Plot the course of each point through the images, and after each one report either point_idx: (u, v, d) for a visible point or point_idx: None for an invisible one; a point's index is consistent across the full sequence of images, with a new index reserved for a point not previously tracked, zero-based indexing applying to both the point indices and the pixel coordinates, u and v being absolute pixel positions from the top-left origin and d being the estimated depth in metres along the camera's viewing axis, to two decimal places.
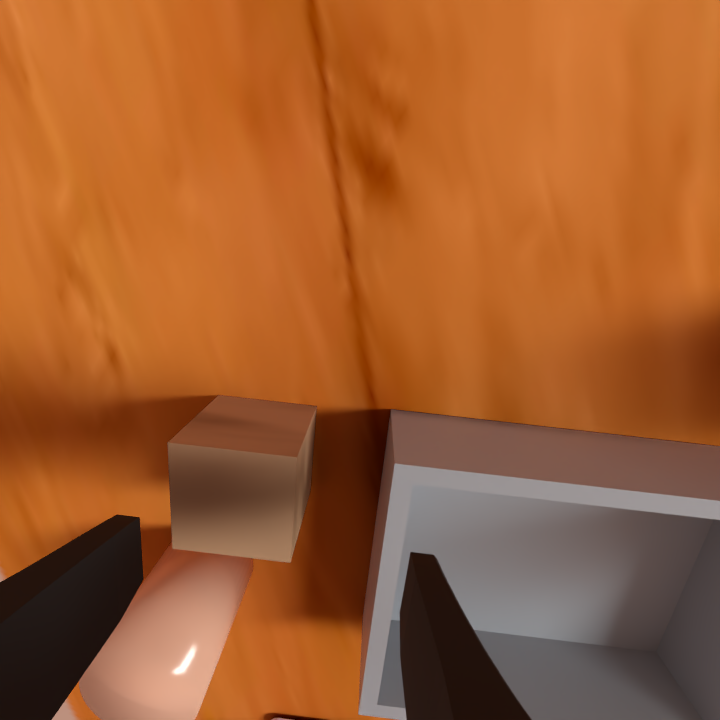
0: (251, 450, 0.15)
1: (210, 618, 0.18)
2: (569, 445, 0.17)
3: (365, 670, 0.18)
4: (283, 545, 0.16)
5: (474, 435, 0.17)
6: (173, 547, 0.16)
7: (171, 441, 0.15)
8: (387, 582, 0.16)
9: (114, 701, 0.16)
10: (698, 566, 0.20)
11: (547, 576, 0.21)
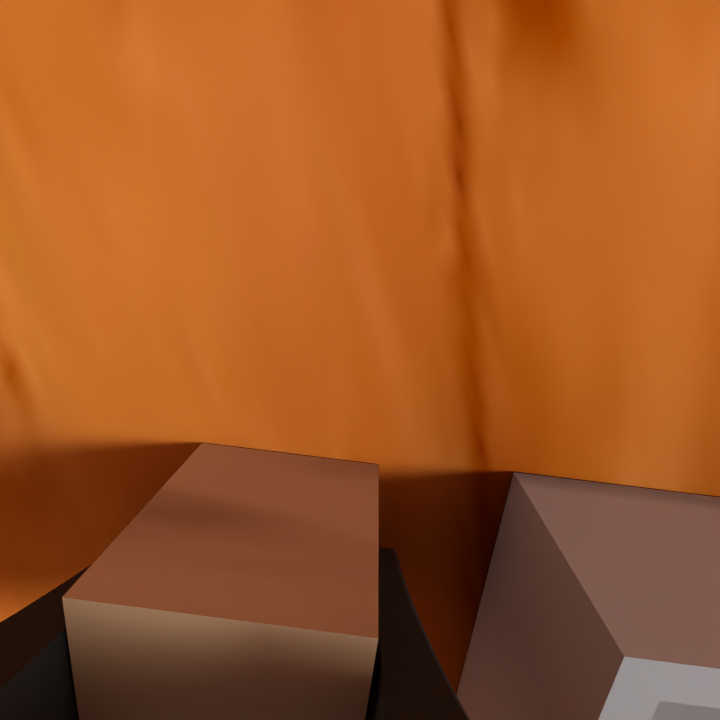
0: (266, 616, 0.06)
1: None
2: None
3: None
4: None
5: (704, 538, 0.09)
6: None
7: (73, 592, 0.06)
8: None
9: None
10: None
11: None
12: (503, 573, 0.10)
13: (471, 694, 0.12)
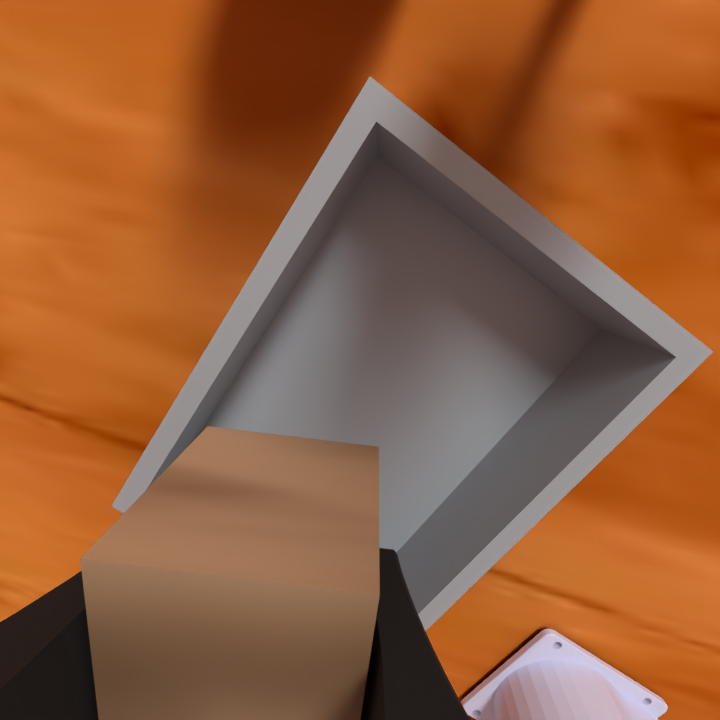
0: (272, 576, 0.06)
1: None
2: None
3: None
4: None
5: None
6: None
7: (90, 554, 0.07)
8: None
9: None
10: (489, 242, 0.16)
11: (420, 399, 0.18)
12: None
13: None
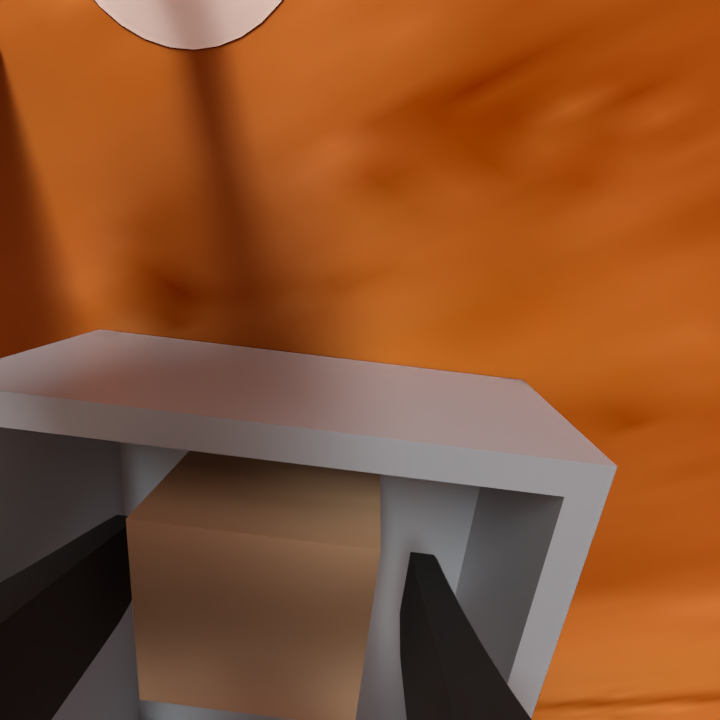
0: (289, 534, 0.08)
1: None
2: None
3: None
4: (343, 699, 0.09)
5: None
6: (141, 697, 0.09)
7: (134, 515, 0.08)
8: None
9: None
10: None
11: None
12: None
13: None
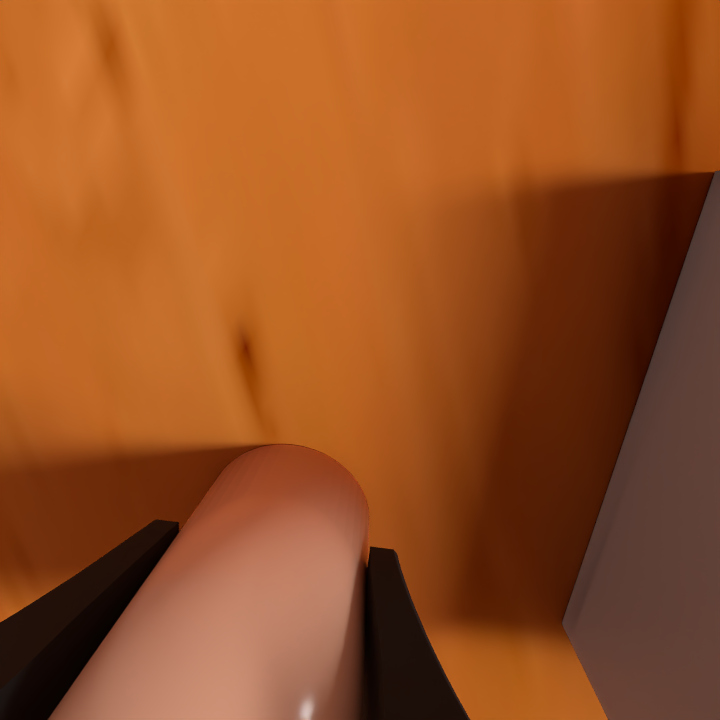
0: None
1: (343, 628, 0.07)
2: None
3: None
4: None
5: None
6: None
7: None
8: None
9: None
10: None
11: None
12: (706, 289, 0.09)
13: (642, 468, 0.10)
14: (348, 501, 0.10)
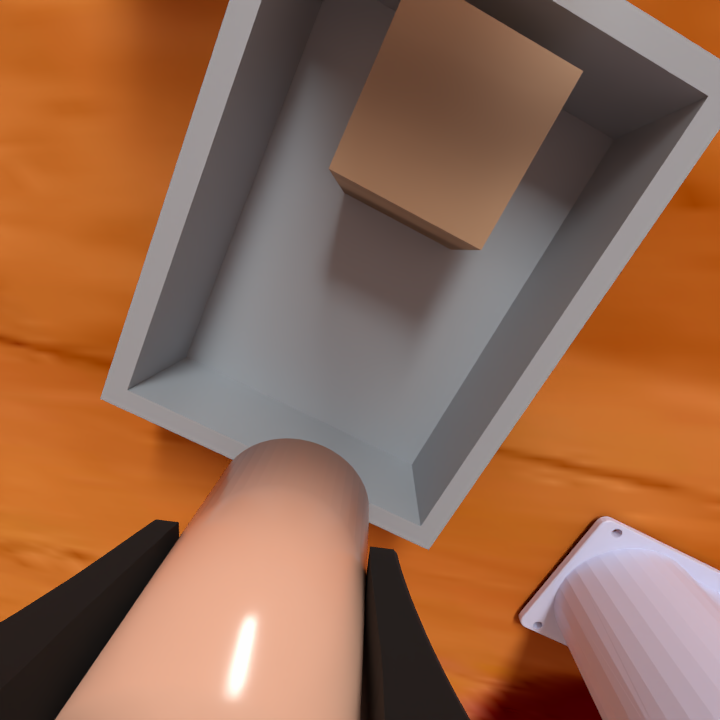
0: (522, 38, 0.10)
1: (347, 609, 0.08)
2: None
3: None
4: (486, 217, 0.11)
5: None
6: (330, 167, 0.11)
7: None
8: None
9: None
10: None
11: (422, 260, 0.16)
12: None
13: None
14: (351, 494, 0.11)
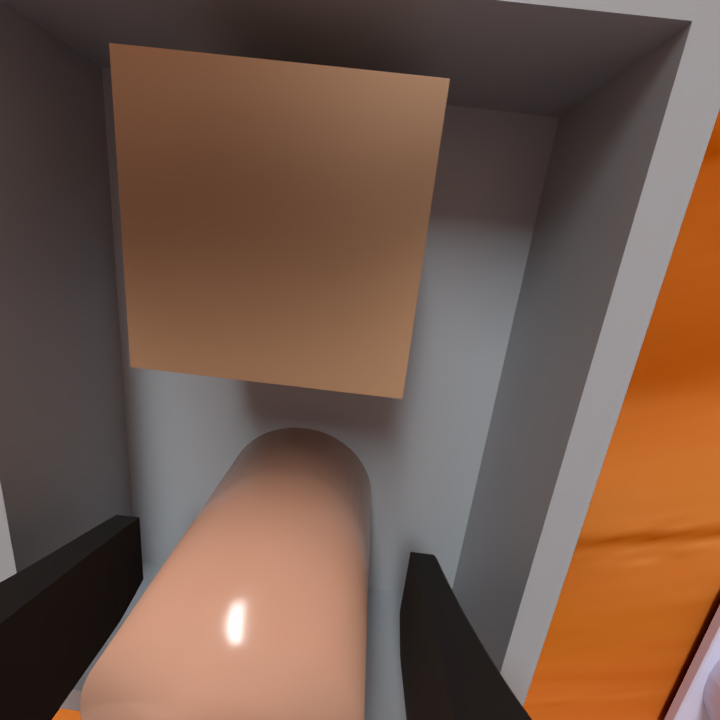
0: (327, 69, 0.06)
1: (352, 573, 0.09)
2: None
3: None
4: (389, 352, 0.07)
5: None
6: (132, 364, 0.07)
7: (120, 47, 0.06)
8: None
9: None
10: None
11: None
12: None
13: None
14: (355, 478, 0.12)
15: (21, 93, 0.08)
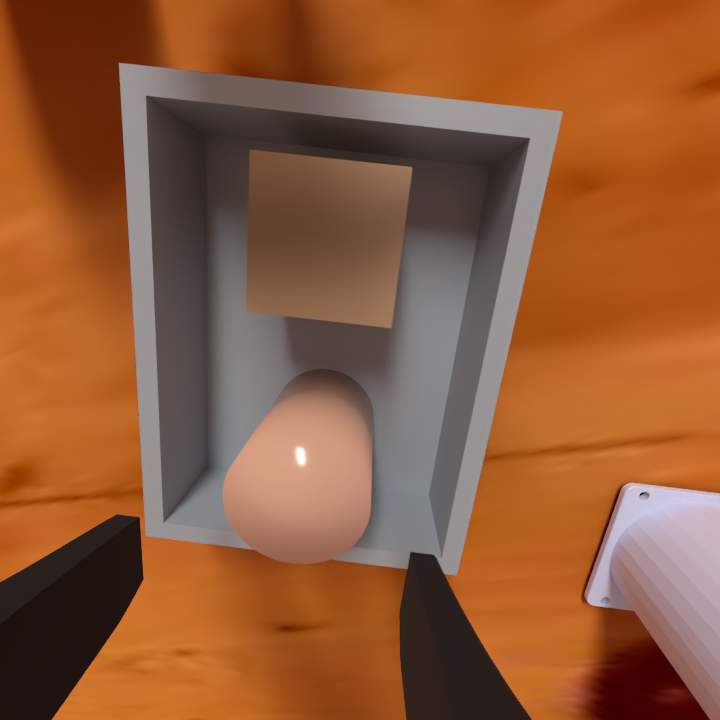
0: (354, 161, 0.12)
1: (363, 438, 0.15)
2: None
3: (391, 565, 0.17)
4: (384, 302, 0.13)
5: None
6: (247, 310, 0.13)
7: (253, 150, 0.12)
8: None
9: (262, 513, 0.13)
10: (338, 148, 0.16)
11: None
12: None
13: None
14: (363, 399, 0.18)
15: (176, 160, 0.14)
